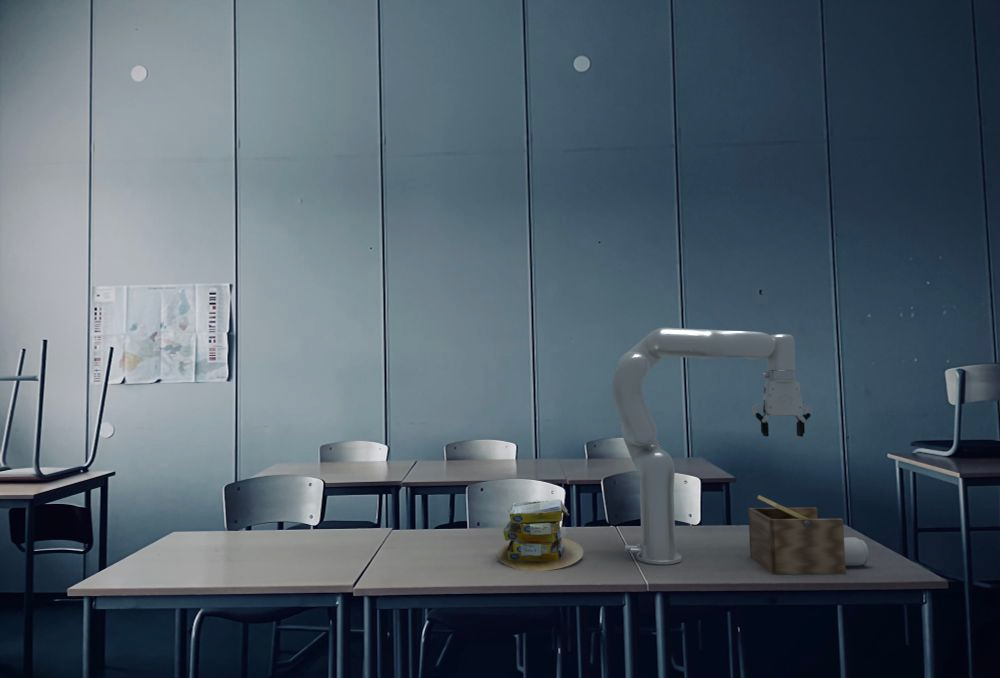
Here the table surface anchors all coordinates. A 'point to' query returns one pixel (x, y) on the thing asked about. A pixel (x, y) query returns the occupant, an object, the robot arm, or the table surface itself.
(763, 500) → the trapdoor flap
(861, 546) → the can
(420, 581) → the table surface
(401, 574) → the table surface
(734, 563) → the table surface
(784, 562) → the trapdoor frame
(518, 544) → the stacked yellow boxes
